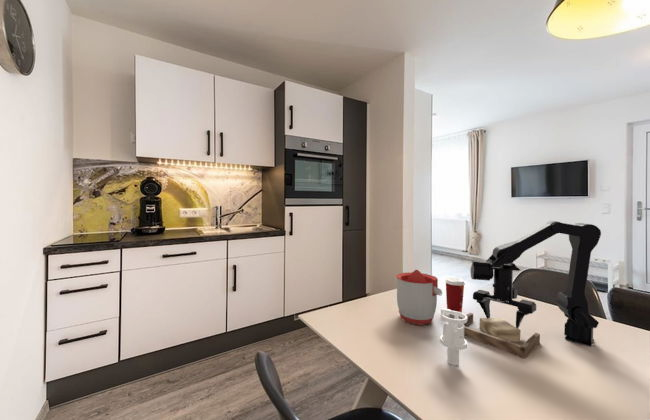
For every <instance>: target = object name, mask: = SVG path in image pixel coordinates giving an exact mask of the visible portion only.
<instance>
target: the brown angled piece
mask: <svg viewBox="0 0 650 420" xmlns="http://www.w3.org/2000/svg"><path fill="white" fill-rule="evenodd" d="M465 315H466V316H467V323H465V324H463V325H464V337H466V338H468V339H471V340H473V341H477V342H479V343H482V344H484V345H487V346H490V347H493V348H495V349H498V350H501V351H503V352H505V353H509V354H511V355H513V356H517V357H519V358H522V359H524V360H525V359H526V358H527V357H528V356H529V355H530V354H531V353H532V351H534V350H535V348H537V346H538V345H539V344H540V342H541V333H538V332H534V333H533V334H532V335H531V336H530V337H529V338H528V339H526V341H525V342H524V343H522V345H521V344H517V343H515V342H513V341H506V340H503V339H501V338H498V337H495V336H492V335H489V334H487V333H486V332H484V331H480V330H477V329H474V328H472V327H468V325H469V324H471V323H473V322H474V313H472V312H469V313H467V314H465ZM459 319H464V318H462V317H459ZM472 321H473V322H472ZM467 324H468V325H467Z"/></svg>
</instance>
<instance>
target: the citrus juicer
mask: <svg viewBox="0 0 650 420" xmlns="http://www.w3.org/2000/svg"><path fill="white" fill-rule="evenodd" d="M438 282H439V280H438V278H437V277H436V276H434V275H431V274H427V273H421V271H419V270H418V269H415V270H414V271H412V272H401V273H398V274H396V302H397V308H398V312H399V316H400V317H401V319H402V320H403V321H404V320H405V321H404V322H406V323H409V324H411V325H420V326H424V325H429V324H431V323H432V321H433V319H434V317H435V313H436V309H437V304H438V302H437V301H438V296H440V297H441V296H443V291H442V289H441V288H439V287H438V284H439V283H438Z"/></svg>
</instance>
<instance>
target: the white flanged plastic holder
mask: <svg viewBox="0 0 650 420" xmlns="http://www.w3.org/2000/svg"><path fill="white" fill-rule="evenodd" d="M446 315H447V316H446ZM449 315H452V316H454V318H452V317H451V318H450V317H448V316H449ZM466 315H467V314H465V313H463V312H462V313H461V312H457V311H452V310H450V309H447V308H444V307H441V308H440V321H441V322H443V323H442V324H443V325H442V334H441V335H440V337H439V339H440V340H439V341H440V344H441V345H442V346H444V347H446V348H447V350H446V351H447V358H446V359H447V363H448V364H450V365H451V366H458V365H459V364H460V351H461V350H466V349H467V348H468V341H467V339H465V336H464V325H463V324H465V323H467V316H466ZM461 317H462V318H464V319H459V318H461Z"/></svg>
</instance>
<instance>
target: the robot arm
mask: <svg viewBox="0 0 650 420" xmlns="http://www.w3.org/2000/svg"><path fill="white" fill-rule="evenodd" d="M556 234H561V235H567V236H568V241H569V243H570V245H571V255H570V262H569V263H570V264H569V269H568V275H567V276H568V277H567V282H566V284H567V285H566V288H565V290H564V291H563V292H560V291H557V300H556V301H555V303H556V304H557V306H558V309H559V310H560V311H561V312H562V313H563V314H564V316H565V317H566V318H567V319H566V322H564V329H563V330H564V333H563V334H564V336H565V337H564V339H565V340H566V341H567V340H568V341H571V342H574V343H578V344H581V345H584V346H587V347H592V346H593V344H594V342H595V339H594V329H596V328H598V325H599V323H600V322H599V321H598V319H596V318H594V316H592V315H591V314H590V305H589V301H588V299H587V295H586V289H587V284H588V282H587V281H588V276H589V275H588V274H589V268H590V262H591V255H592V254H591V253H592V251H593V250H594V249H595V248H596V247H597V245H598V243H599V241H600V239H601V236H602V231H601V229H600V228H599V227H598V226H597V225H595V224H593V223H584V222H583V223H582V222H580V223H579V222H578V223H574V224H572V223H563V222H560V221H556V220H555V221H554V220H550V221H547V222H546V223H545V224H543V225H542V226H539V227H537V228H536V229H534V230H533V231H531V232H529V233H527V234H525V235H524V236H521V237H520V238H518V239H516V240H514V241H511V242H506V243H503V244H501V245H498V246H495V248H493V250H492V254H491V255H490V256H489V257H488V259H486V261H479V260H478V261H477V260H472V261H471V265H470V266H471V267H470V278H471V280H474V281H475V280H478V281H490V280H493V283H492V288H493V294H491V293H490V291H486V290H483V289H478V290H476V291H473V293H472V299H473V300H475V301H476V303H478V304H479V305H480V308H481V309H482V310H483V313H484V316H485V318H491V310H490V308H491V307H490V305H491V301H492V302H497V303H500V304H505V305H509V306H512V307H515V308H516V307H517V309H518V310H516V313H515V314H516V315H515V327H516V328H518V329H519V328H520V326H521V324H522V321H523V320H524V317H525V316H528V315H530V314H531V315H532V314H533V313H535V312H536V311H537V304H536V302H535V301H533V300H532V301H531V300H526V299H521V300H515V299H517V298H518V291H519V290H518V289H515V288H514V287H515V286H514V284H513V281H514V280H513V278H514V277H513V275H514V272H519V271H520V268H519V267H518V266H517V265H516V263H514V262H515V261H517V260H518V258H520V257H521V256H522V255H523V254H524V252H526V251H528V250H530V249H531V248H533V247H535V246H537V245H539V244H540V243H542V242H544V241H546V240H548V239H550V238H551V237H553V236H556ZM513 271H514V272H513Z"/></svg>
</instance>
